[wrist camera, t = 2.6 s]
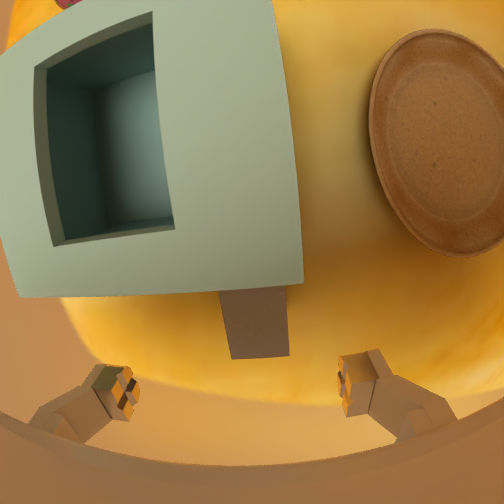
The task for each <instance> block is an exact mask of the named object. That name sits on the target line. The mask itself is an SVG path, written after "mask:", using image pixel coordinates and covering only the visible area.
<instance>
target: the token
mask: <svg viewBox="0 0 504 504" xmlns="http://www.w3.org/2000/svg"><path fill="white" fill-rule="evenodd" d="M219 297H220V302H221V308H222V313H223V318H224V323H225V328H226V334H227V339H228V344H229V349H230V353H231V358H232V359H252V358H269V357H283V356H289V339H288V323H287V308H286V294H285V286H273V287H262V288H249V289H236V290H222V291H219Z"/></svg>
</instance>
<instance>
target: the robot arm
mask: <svg viewBox="0 0 504 504" xmlns="http://www.w3.org/2000/svg"><path fill="white" fill-rule="evenodd" d="M338 365H339V368H340V371H339V372H338V376H337V383H338V391H339V395H340V397H342V398H343V404H342V405H343V409H344V412H345V415H346V417H350V416H357V415H363V414H367V413H368V415H369V416H371V417H372V418H373V419H374V420H376V421H377V422H378V423H379V424H381V425H382V426H383V427H384V428H386V429H387V430H388V431H389V432H391V433H392V434H393V435H394V436H396V437H397V439H396V442H395V443H394V444H390V445H387V446H383V447H379V448H375V449H371V450H367V451H363V452H359V453H354V454H349V455H344V456H338V457H333V458H327V459H320V460H313V461H305V462H297V463H286V464H273V465H251V466H222V465H200V464H186V463H177V462H169V461H161V460H154V459H147V458H142V457H136V456H130V455H126V454H121V453H116V452H111V451H108V450H103V449H99V448H96V447H92V446H88V445H85V444H84V443H85V442H86V441H87V440H89V439H90V438H91V437H92V436H94V435H95V434H96V433H97V432H98V431H99V430H101V429H102V428H103V427H104V426H106V425H107V424H108V423H109V422H110V421H111V420H112V419H113V420H120V421H128V422H129V420H130V418H131V416H132V414H133V411H134V409H133V407H132V406H133V405H135V404H136V403H137V402H138V400H139V396H140V389H139V385H138V383H137V382H136V381H135V380H134V379H133V378H132V376H133V372H132V370H131V368H130V367H128V366H119V365H110V364H108V365H107V364H100V363H99V364H96V366H95V367H94V368H93V370H92V371H91V372H90V374H89V375H88V377H87V378H86V380H85V381H84V383H83V384H82V385H81V387H80V386H78V387H76V388H74V389H72V390H70V391H68V392H67V393H65V394H63V395H61V396H59V397H57V398H56V399H54V400H52V401H50V402H48V403H46V404H44V405H43V406H41V407H39V409H38V410H37V411H36V413H35V414H34V416H33V417H32V418H31V420H30V421H29V423H28V424H26V423H24V422H22V421H19V420H17V419H15V418H13V417H11V416H9V415H7V414H5V413H2V412H1V411H0V504H504V397H503V398H501V399H499V400H497V401H495V402H494V403H492V404H490V405H488V406H486V407H484V408H482V409H481V410H478V411H476V412H475V413H472V414H470V415H468V416H466V417H464V418H462V419H459V420H457V418H456V416H455V415H454V413H453V411H452V410H451V408H450V406H449V405H448V403H447V401H446V400H445V398H443V397H441V396H439V395H437V394H435V393H432V392H430V391H428V390H426V389H424V388H422V387H420V386H418V385H416V384H414V383H412V382H410V381H408V380H406V379H404V378H402V377H400V376H398V375H393V374H392V372H391V370H390V368H389V366H388V364H387V363H386V361H385V359H384V357H383V355H382V354H381V352H380V350H378V349H375V350H370V351H365V352H362V353H356V354H351V355H345V356H340V357H339V363H338Z"/></svg>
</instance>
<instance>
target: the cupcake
mask: <svg viewBox="0 0 504 504" xmlns="http://www.w3.org/2000/svg"><path fill="white" fill-rule="evenodd" d="M54 1H55V2H56V4H57V5H58V6H59V7H60V8H62V9H64V10H66V9H67V8H69V7H71V6H73V5H75V4H76V3H78V2H80V1H82V0H54Z"/></svg>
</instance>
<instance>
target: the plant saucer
mask: <svg viewBox="0 0 504 504" xmlns="http://www.w3.org/2000/svg"><path fill="white" fill-rule="evenodd" d="M369 135H370V144H371V149H372V155H373V159H374V163H375V167H376V171H377V174H378V177H379V180H380V182H381V185H382V188H383V190H384V193H385V195H386V197H387V199H388V201H389V203H390V205H391V207H392V208H393V210H394V211H395V213H396V215H397V216H398V217H399V219H400V220H401V222H402V223H403V224H404V226H405V227H406V228H407V229H408V230H409V232H410V233H411V234H412V235H413V236H414V237H415V238H416V239H417V240H419V241H420V242H421V243H422V244H423V245H425V246H426V247H428V248H429V249H431V250H433V251H435V252H437V253H440V254H443V255H445V256H450V257H455V258H468V257H473V256H478V255H480V254H482V253H485V252H487V251H490V250H491V249H493V248H494V247H496V246H497V245H499V244H500V243H501V242H502V241H503V240H504V69H503V67H502V66H501V65H500V64H499V63H498V62H497V61H496V60H495V59H494V58H493V57H492V56H491V55H490V54H489V53H488V52H487V51H486V50H484V49H483V48H482V47H481V46H479V45H478V44H476V43H475V42H473V41H472V40H470V39H468V38H466V37H464V36H463V35H460V34H457V33H454V32H451V31H447V30H442V29H425V30H420V31H416V32H413V33H411V34H408V35H406V36H405V37H403V38H401V39H400V40H399V41H397V42H396V43H395V44H394V45H393V46H392V47H391V49H390V50H389V51H388V52H387V53H386V55H385V56H384V58H383V60H382V61H381V63H380V65H379V67H378V69H377V72H376V75H375V78H374V81H373V85H372V90H371V95H370V102H369Z"/></svg>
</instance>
